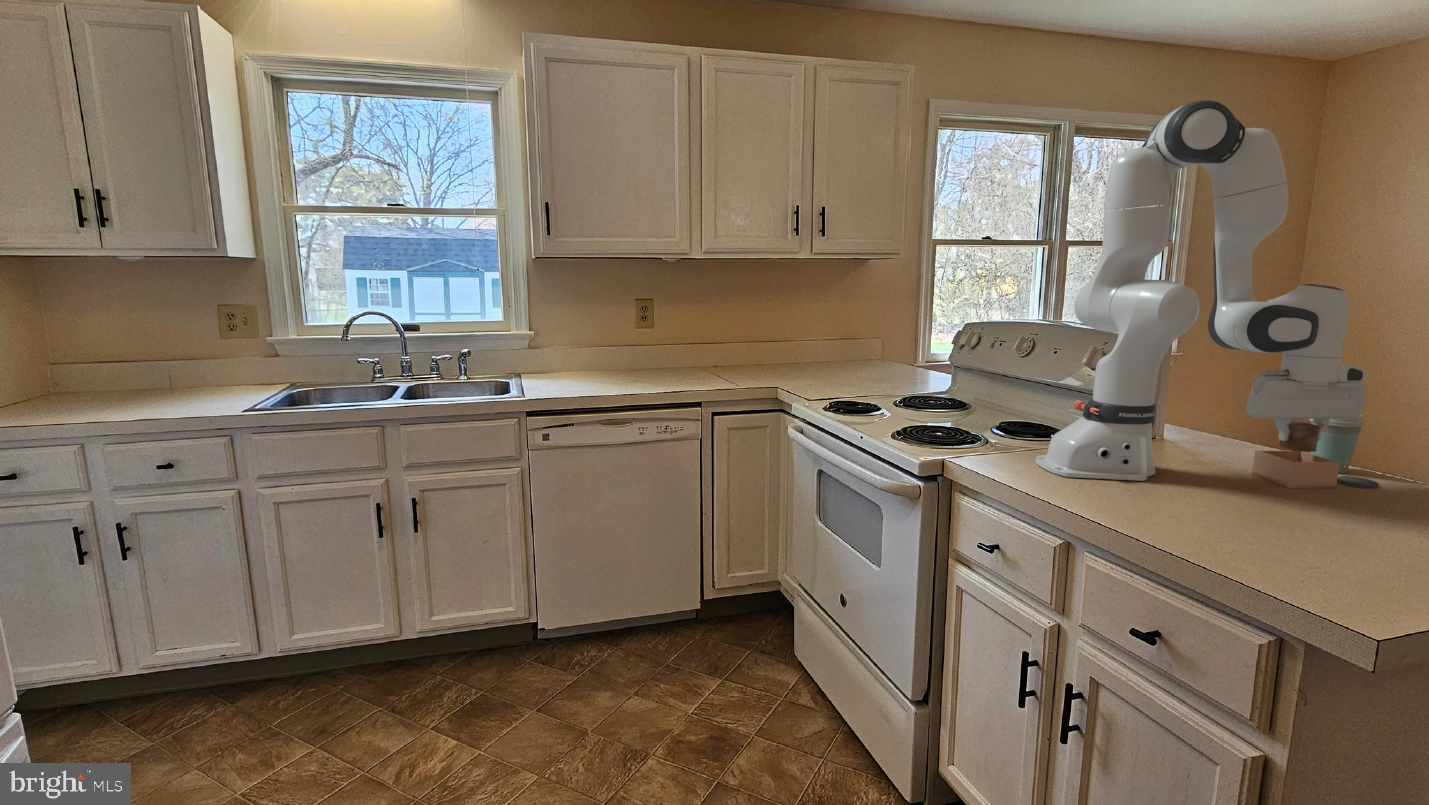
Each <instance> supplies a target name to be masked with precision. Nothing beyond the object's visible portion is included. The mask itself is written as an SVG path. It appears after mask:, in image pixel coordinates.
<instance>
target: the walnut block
mask: <svg viewBox="0 0 1429 805" xmlns="http://www.w3.org/2000/svg"><path fill="white" fill-rule="evenodd" d="M1287 427H1288V429H1289V432H1293V437H1292V438H1293V439H1292V441H1282V440H1279V445H1278V447H1280V448H1283V449H1285V450H1292V451H1295V452H1307V453H1311V452H1316V448H1317V442H1318V436H1319V430H1320V426H1317V425H1313V424H1311V422H1310V423H1309V422H1305V421H1290V424H1287Z"/></svg>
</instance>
